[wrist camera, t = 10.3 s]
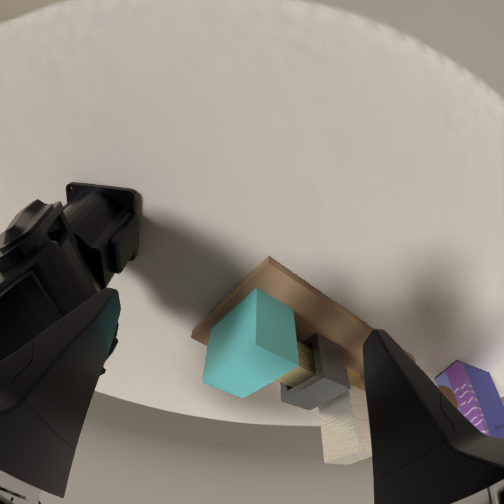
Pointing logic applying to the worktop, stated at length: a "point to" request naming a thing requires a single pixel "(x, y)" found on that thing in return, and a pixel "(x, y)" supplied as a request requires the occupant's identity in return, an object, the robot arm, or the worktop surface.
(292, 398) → the sleeve
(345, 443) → the white-capped post
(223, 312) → the base board
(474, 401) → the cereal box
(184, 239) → the worktop surface
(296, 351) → the socket block
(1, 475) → the robot arm
